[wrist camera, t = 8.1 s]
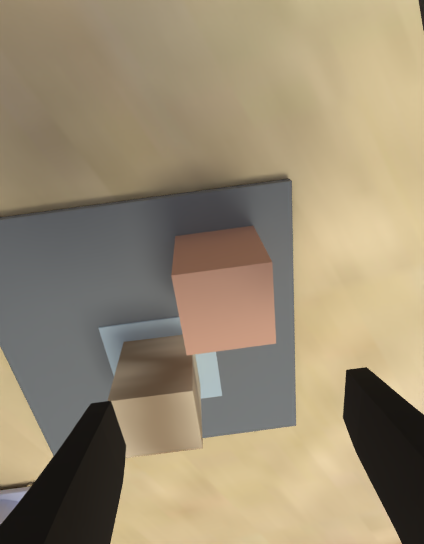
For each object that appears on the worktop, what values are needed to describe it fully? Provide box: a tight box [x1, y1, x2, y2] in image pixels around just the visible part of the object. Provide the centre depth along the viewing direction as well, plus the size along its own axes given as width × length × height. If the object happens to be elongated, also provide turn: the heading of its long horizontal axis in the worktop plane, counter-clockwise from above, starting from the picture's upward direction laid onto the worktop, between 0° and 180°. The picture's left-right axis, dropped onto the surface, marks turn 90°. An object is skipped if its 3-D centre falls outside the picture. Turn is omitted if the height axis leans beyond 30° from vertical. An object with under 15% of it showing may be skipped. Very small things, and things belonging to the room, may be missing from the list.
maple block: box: [108, 335, 203, 458], centre depth 19 cm, size 4×4×4 cm
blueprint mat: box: [0, 179, 296, 455], centre depth 21 cm, size 17×17×1 cm
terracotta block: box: [171, 226, 276, 355], centre depth 17 cm, size 4×4×4 cm
